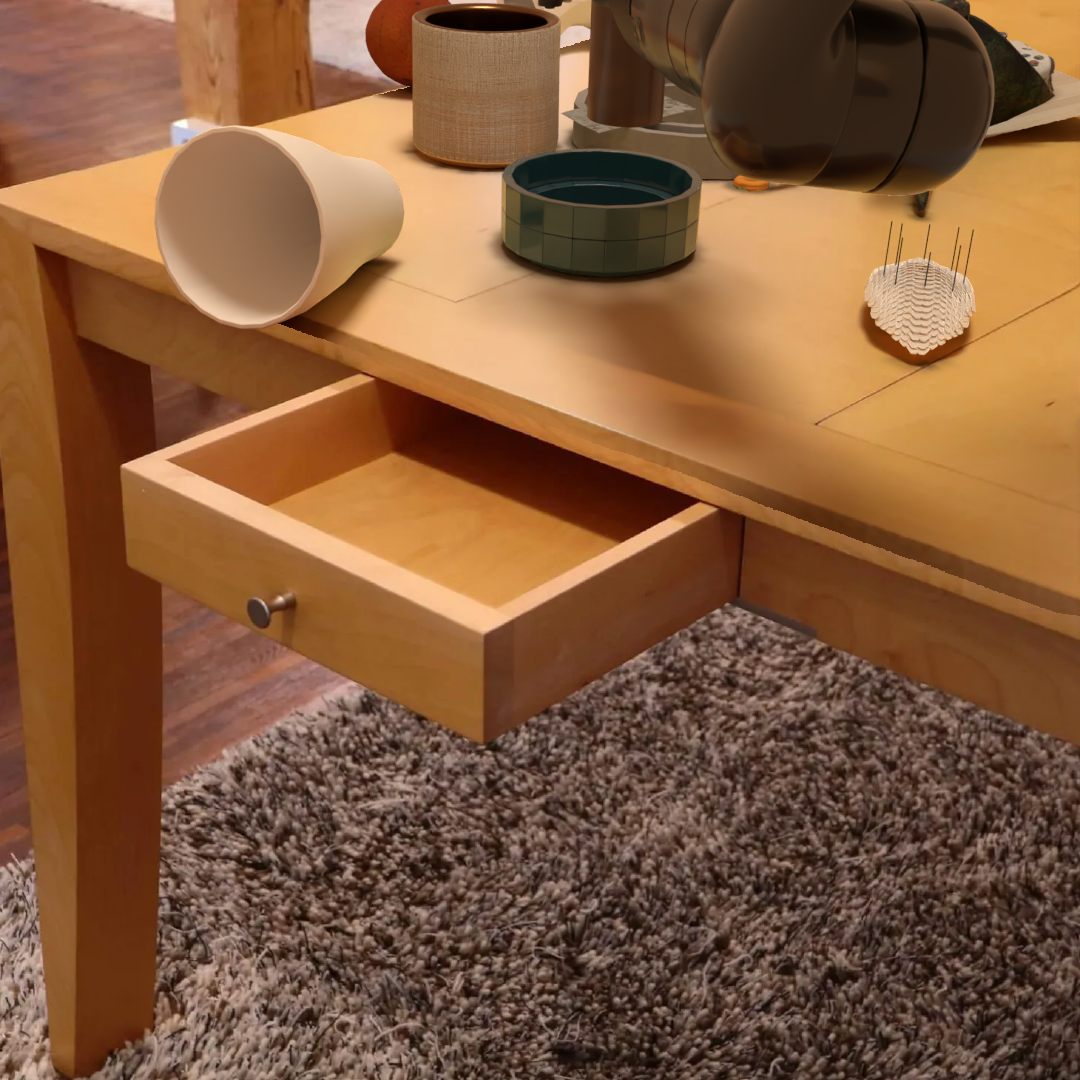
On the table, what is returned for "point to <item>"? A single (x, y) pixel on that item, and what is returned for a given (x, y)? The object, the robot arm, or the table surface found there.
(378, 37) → the fruit
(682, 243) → the bowl
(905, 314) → the pincushion
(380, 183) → the cup
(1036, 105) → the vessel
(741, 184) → the donut
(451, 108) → the planter
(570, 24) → the vase
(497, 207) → the table surface
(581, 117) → the business card
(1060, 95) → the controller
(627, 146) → the mechanical component
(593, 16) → the rolling pin
